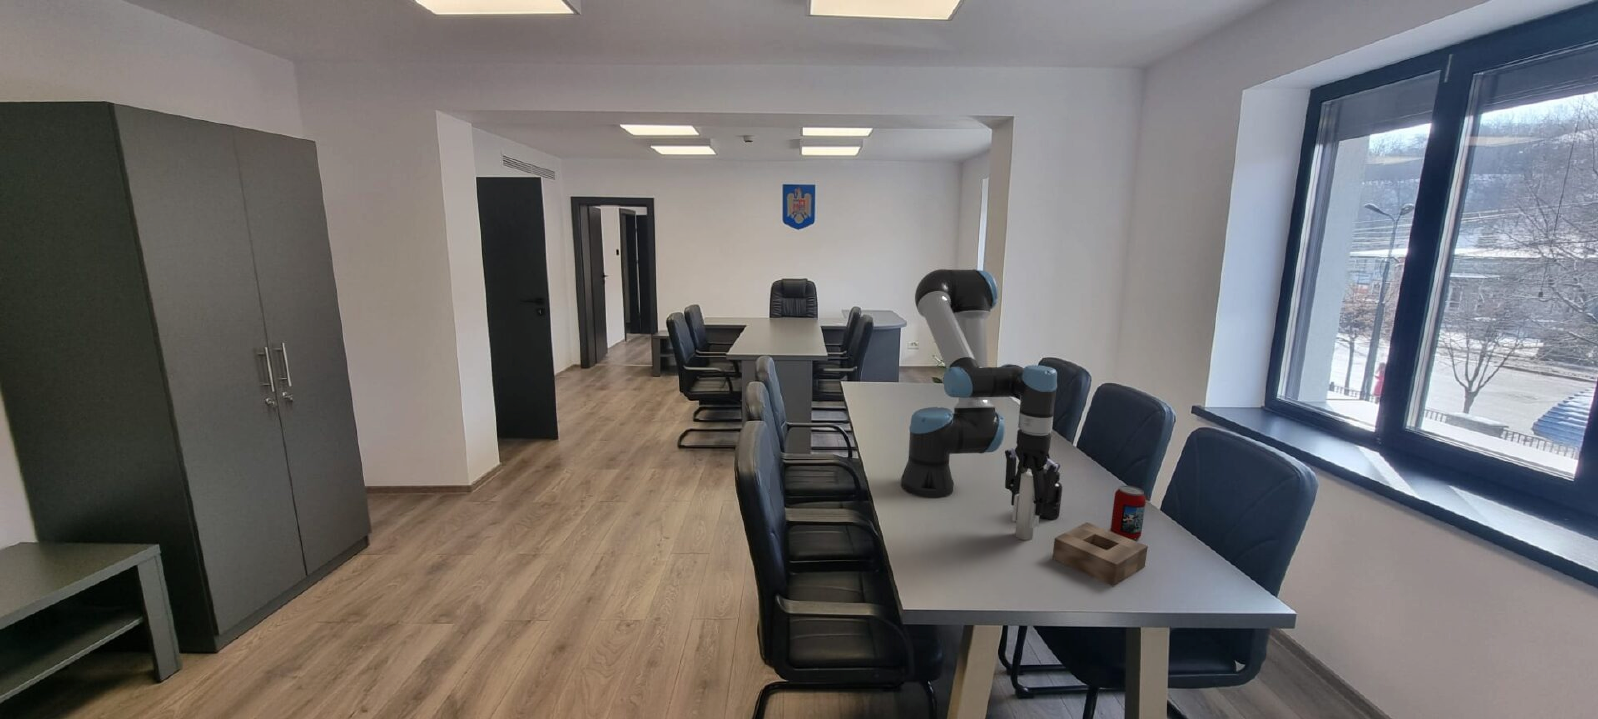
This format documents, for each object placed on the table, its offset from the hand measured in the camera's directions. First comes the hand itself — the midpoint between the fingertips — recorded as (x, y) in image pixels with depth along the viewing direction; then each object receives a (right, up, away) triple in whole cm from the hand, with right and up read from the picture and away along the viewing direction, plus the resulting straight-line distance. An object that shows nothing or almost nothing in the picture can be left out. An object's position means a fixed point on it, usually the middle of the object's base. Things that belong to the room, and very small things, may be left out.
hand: (1025, 522), depth 147 cm
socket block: (+12, -6, -11) cm, 18 cm away
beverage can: (+26, -4, +3) cm, 26 cm away
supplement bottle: (+10, -2, +13) cm, 17 cm away
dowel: (0, -4, +1) cm, 4 cm away
